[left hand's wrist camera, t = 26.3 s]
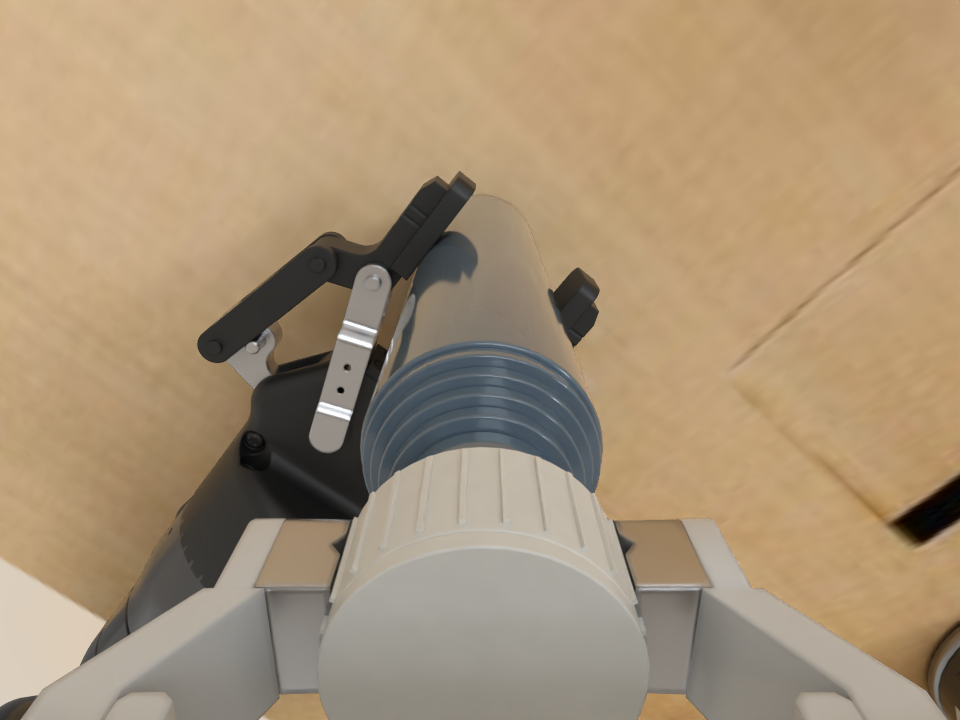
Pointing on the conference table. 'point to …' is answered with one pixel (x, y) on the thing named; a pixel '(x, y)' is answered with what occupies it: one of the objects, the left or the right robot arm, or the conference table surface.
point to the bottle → (481, 357)
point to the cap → (482, 599)
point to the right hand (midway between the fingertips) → (527, 231)
